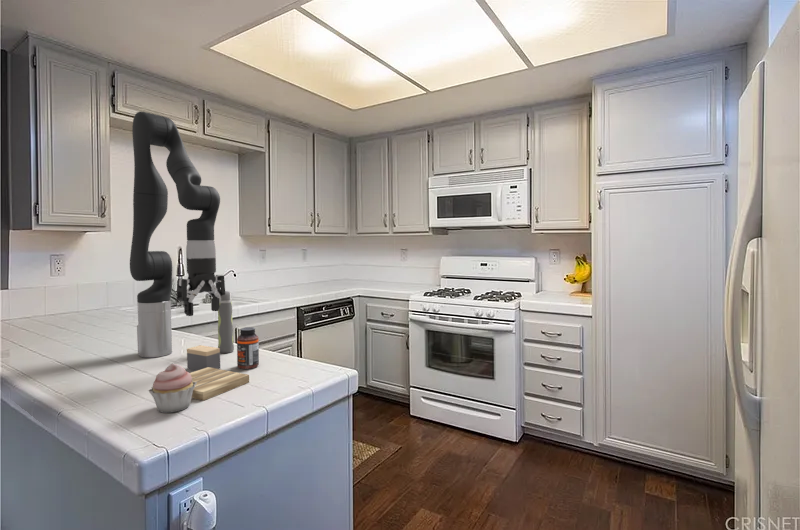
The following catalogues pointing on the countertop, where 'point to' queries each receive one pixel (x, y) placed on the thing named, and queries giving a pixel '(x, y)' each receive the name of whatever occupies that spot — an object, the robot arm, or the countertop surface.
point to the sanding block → (203, 357)
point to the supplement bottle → (247, 349)
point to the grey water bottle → (225, 324)
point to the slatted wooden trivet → (215, 382)
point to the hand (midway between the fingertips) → (202, 313)
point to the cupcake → (172, 389)
